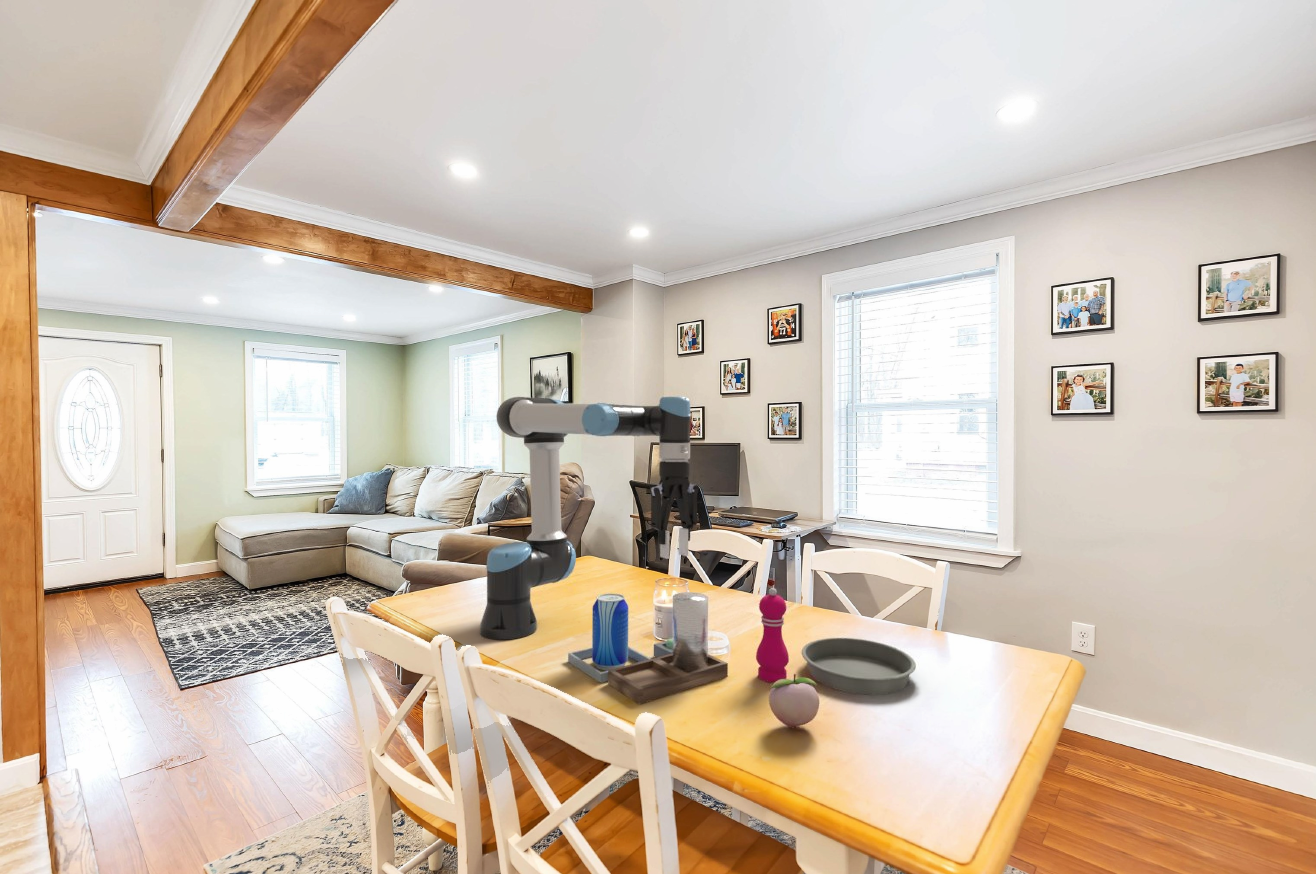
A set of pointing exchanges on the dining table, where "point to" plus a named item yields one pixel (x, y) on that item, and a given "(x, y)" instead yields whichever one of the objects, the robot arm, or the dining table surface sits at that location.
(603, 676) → the frame
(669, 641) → the button
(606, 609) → the beer can
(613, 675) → the wooden divided tray
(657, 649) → the button housing
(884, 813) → the dining table surface
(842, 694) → the dining table surface
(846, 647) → the cake pan
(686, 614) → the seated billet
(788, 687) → the decorative fruit
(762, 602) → the pepper mill
